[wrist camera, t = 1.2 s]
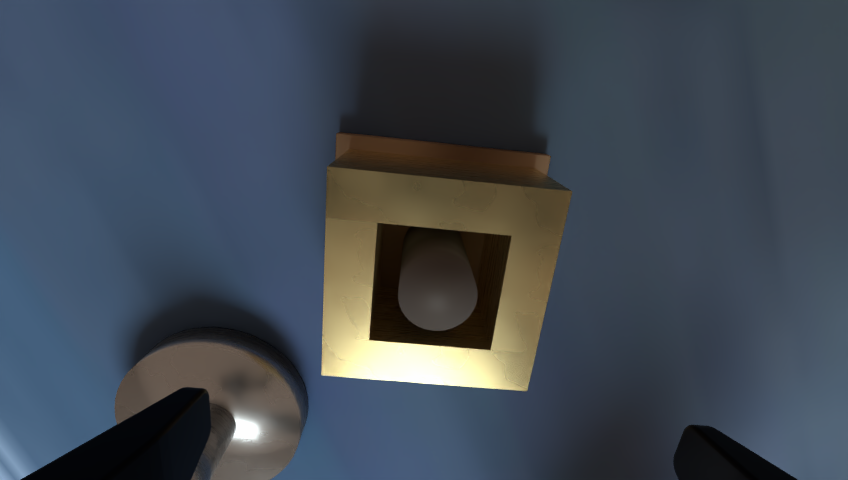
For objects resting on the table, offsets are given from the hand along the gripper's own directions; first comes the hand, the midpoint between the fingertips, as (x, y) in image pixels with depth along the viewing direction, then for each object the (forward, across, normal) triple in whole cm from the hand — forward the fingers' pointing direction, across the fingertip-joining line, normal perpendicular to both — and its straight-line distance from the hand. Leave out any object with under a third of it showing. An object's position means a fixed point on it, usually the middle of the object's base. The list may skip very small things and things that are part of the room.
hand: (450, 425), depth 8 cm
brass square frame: (+10, 0, 0) cm, 10 cm away
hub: (+10, +9, +9) cm, 16 cm away
